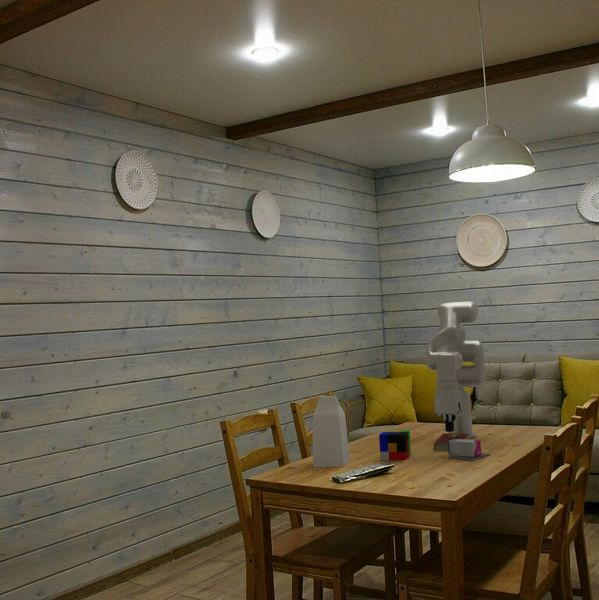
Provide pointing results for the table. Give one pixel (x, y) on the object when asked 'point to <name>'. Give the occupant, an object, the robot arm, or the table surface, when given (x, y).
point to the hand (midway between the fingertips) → (449, 431)
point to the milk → (329, 434)
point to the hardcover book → (443, 439)
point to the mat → (469, 457)
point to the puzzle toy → (395, 445)
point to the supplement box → (464, 447)
